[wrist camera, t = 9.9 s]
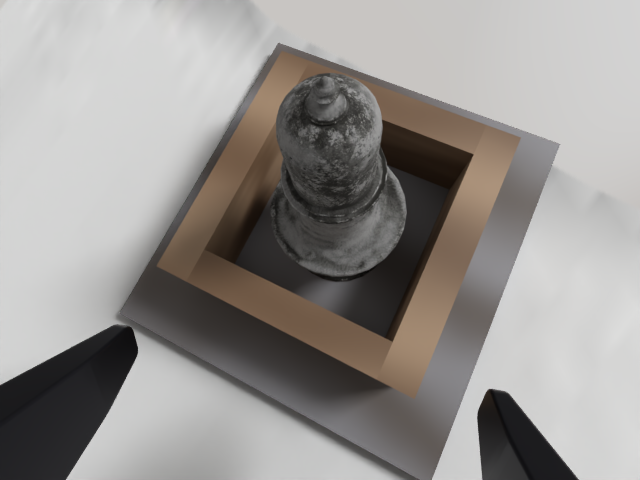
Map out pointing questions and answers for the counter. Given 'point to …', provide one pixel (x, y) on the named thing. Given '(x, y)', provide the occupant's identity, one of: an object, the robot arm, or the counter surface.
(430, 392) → the end holder
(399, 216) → the grey stone pawn figure
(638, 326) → the counter surface
